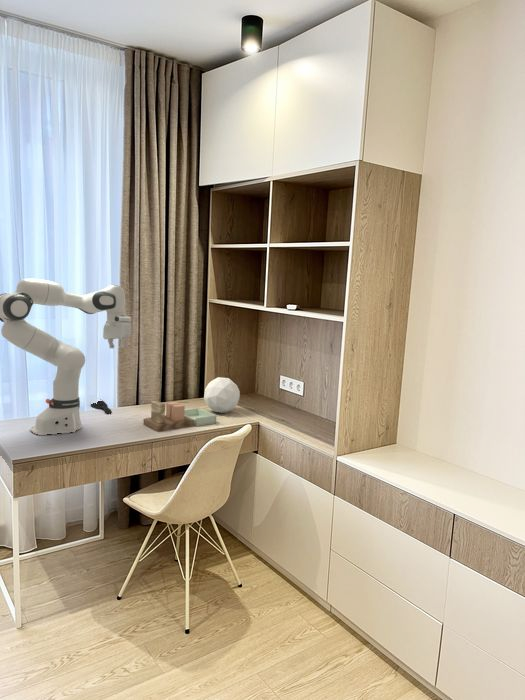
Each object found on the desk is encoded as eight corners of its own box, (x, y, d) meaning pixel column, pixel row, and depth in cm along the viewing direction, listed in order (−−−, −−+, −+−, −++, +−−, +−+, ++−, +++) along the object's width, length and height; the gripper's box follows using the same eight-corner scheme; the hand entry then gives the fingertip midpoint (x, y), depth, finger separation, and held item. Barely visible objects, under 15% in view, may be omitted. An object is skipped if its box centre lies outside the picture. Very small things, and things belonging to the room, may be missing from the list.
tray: (195, 426, 263) (196, 418, 263) (178, 418, 276) (178, 410, 276) (216, 423, 271) (216, 415, 270) (197, 415, 284) (198, 407, 283)
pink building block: (175, 421, 260) (175, 407, 259) (171, 419, 263) (171, 405, 262) (184, 419, 263) (184, 405, 262) (180, 417, 266) (180, 404, 265)
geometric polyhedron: (213, 425, 290) (191, 397, 284) (224, 405, 307) (204, 377, 301) (241, 413, 281) (219, 384, 276) (250, 393, 298) (230, 365, 293)
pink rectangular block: (170, 418, 264) (170, 404, 263) (166, 416, 267) (166, 403, 266) (179, 417, 267) (179, 403, 266) (174, 415, 270) (175, 401, 269)
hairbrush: (102, 410, 274) (88, 397, 295) (102, 417, 275) (88, 404, 296) (118, 409, 279) (103, 396, 299) (117, 415, 280) (103, 402, 300)
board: (157, 431, 251) (157, 425, 251) (143, 424, 262) (143, 418, 262) (193, 425, 264) (193, 419, 264) (179, 419, 275) (179, 413, 274)
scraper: (159, 423, 255) (159, 404, 254) (151, 419, 261) (151, 401, 260) (164, 422, 257) (165, 404, 256) (156, 418, 263) (157, 400, 262)
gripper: (99, 320, 264) (100, 348, 264) (121, 317, 250) (122, 346, 250) (111, 321, 269) (111, 348, 269) (133, 317, 255) (134, 347, 254)
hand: (116, 347), depth 259 cm, fingers open, 8 cm apart
